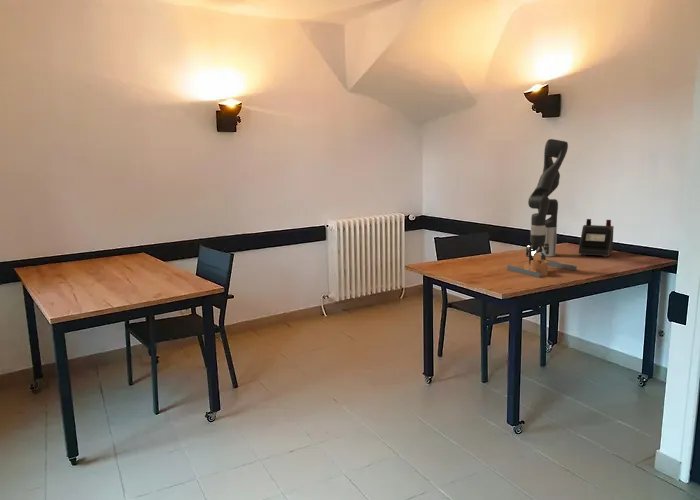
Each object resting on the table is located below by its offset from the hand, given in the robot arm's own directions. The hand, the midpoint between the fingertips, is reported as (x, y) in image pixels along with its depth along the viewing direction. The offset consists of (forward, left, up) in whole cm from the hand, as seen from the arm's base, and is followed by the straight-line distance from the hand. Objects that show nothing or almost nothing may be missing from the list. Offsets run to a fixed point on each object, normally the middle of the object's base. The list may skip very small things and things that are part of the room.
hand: (537, 263), depth 292 cm
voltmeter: (-8, +56, -3) cm, 56 cm away
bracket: (+5, -6, -3) cm, 8 cm away
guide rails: (+3, 0, -3) cm, 4 cm away
